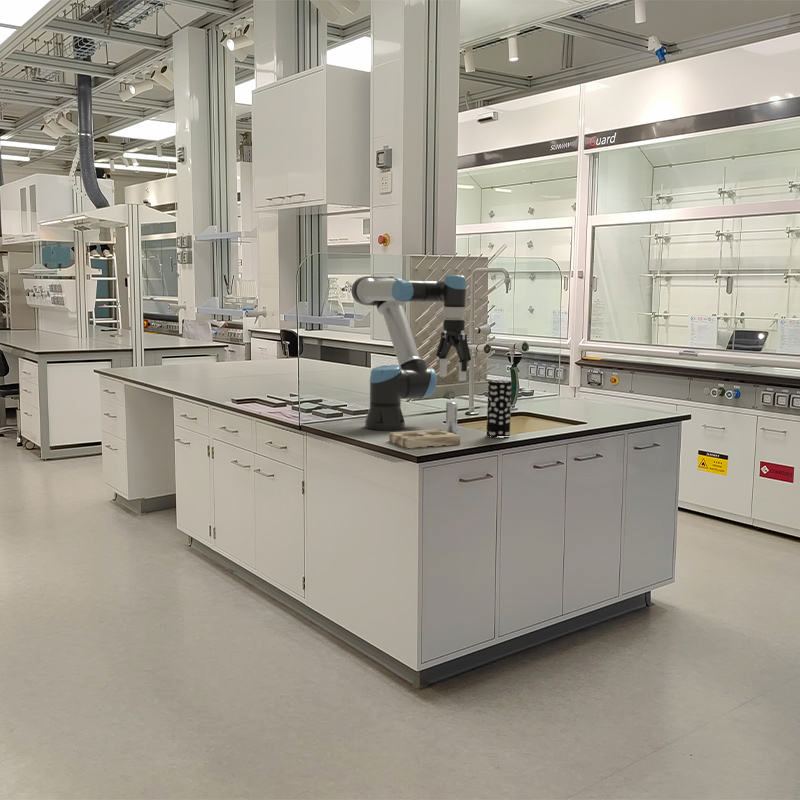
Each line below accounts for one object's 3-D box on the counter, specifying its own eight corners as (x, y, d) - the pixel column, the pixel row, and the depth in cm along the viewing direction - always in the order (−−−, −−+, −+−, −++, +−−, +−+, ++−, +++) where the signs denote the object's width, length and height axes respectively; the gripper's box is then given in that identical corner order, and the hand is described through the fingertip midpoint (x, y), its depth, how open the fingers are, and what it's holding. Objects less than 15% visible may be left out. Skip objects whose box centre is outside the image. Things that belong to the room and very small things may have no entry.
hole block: (389, 441, 273) (389, 432, 273) (439, 437, 283) (439, 429, 282) (408, 448, 261) (408, 439, 261) (460, 444, 270) (460, 435, 270)
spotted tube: (511, 438, 283) (514, 383, 280) (488, 438, 282) (490, 382, 280) (506, 434, 291) (508, 380, 289) (484, 434, 291) (486, 380, 288)
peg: (443, 434, 288) (444, 402, 286) (453, 434, 290) (453, 401, 288) (449, 436, 284) (450, 403, 283) (458, 436, 286) (459, 403, 285)
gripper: (482, 320, 272) (480, 382, 275) (445, 317, 294) (444, 374, 297) (463, 320, 268) (461, 382, 271) (428, 317, 291) (426, 375, 293)
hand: (452, 378), depth 284 cm, fingers open, 13 cm apart
